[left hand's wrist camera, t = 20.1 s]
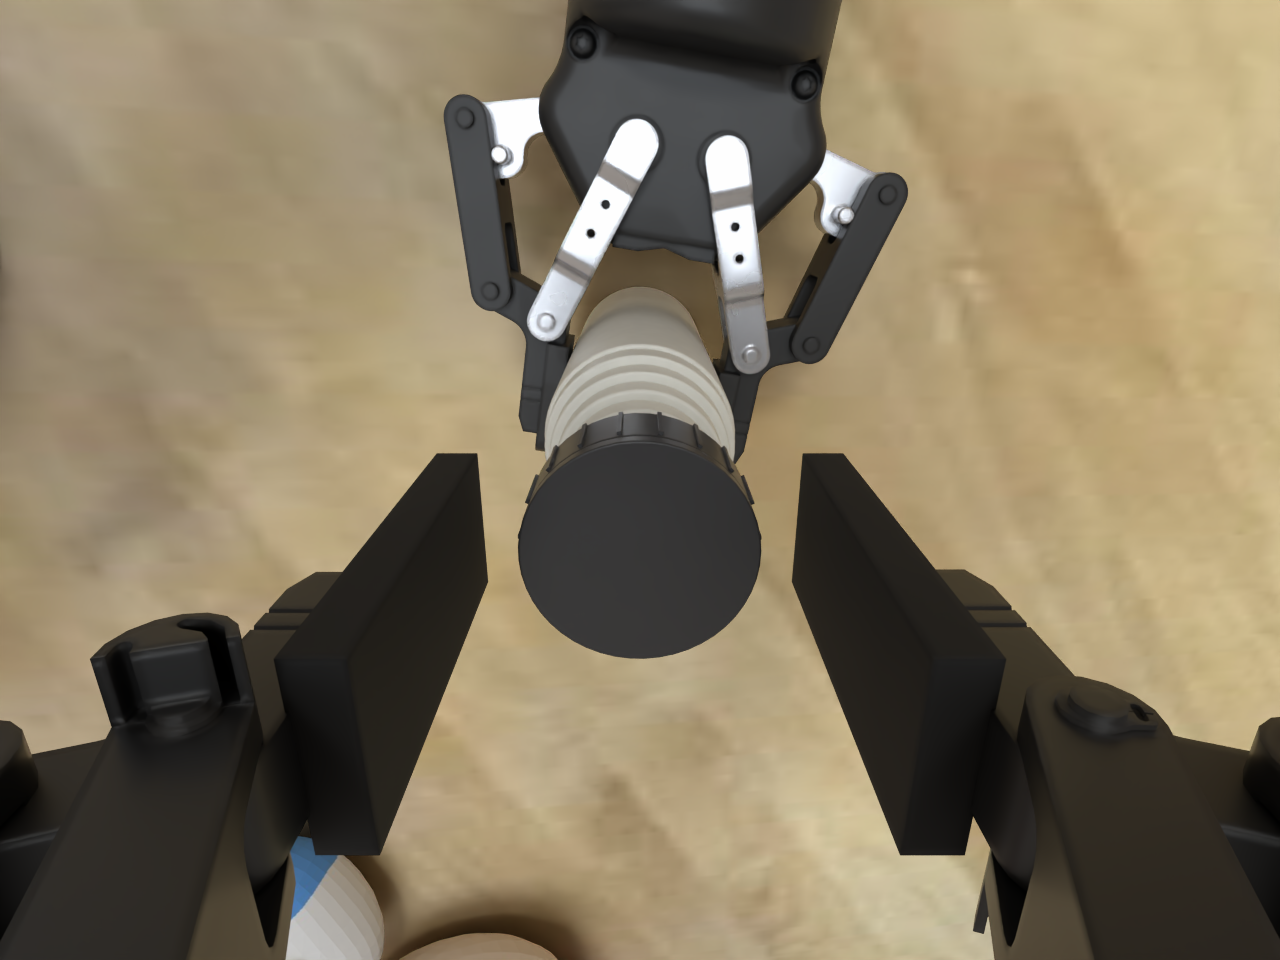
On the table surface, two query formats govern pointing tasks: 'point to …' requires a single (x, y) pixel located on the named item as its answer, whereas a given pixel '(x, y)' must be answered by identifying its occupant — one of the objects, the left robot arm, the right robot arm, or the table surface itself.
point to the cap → (639, 537)
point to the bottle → (639, 370)
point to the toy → (369, 919)
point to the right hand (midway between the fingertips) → (628, 455)
